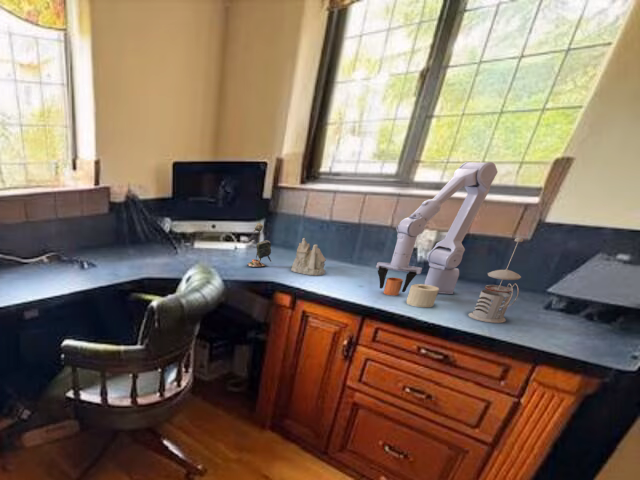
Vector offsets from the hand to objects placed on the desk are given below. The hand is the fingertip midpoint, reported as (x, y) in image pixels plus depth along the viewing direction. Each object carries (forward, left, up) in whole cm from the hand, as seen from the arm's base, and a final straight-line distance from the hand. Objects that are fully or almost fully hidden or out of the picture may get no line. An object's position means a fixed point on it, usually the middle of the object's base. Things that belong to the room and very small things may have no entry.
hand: (392, 289), depth 160 cm
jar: (-7, +11, -2) cm, 13 cm away
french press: (-24, +22, -2) cm, 33 cm away
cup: (0, 0, -2) cm, 2 cm away
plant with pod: (+51, -34, -2) cm, 61 cm away
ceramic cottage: (+28, -30, -2) cm, 41 cm away
